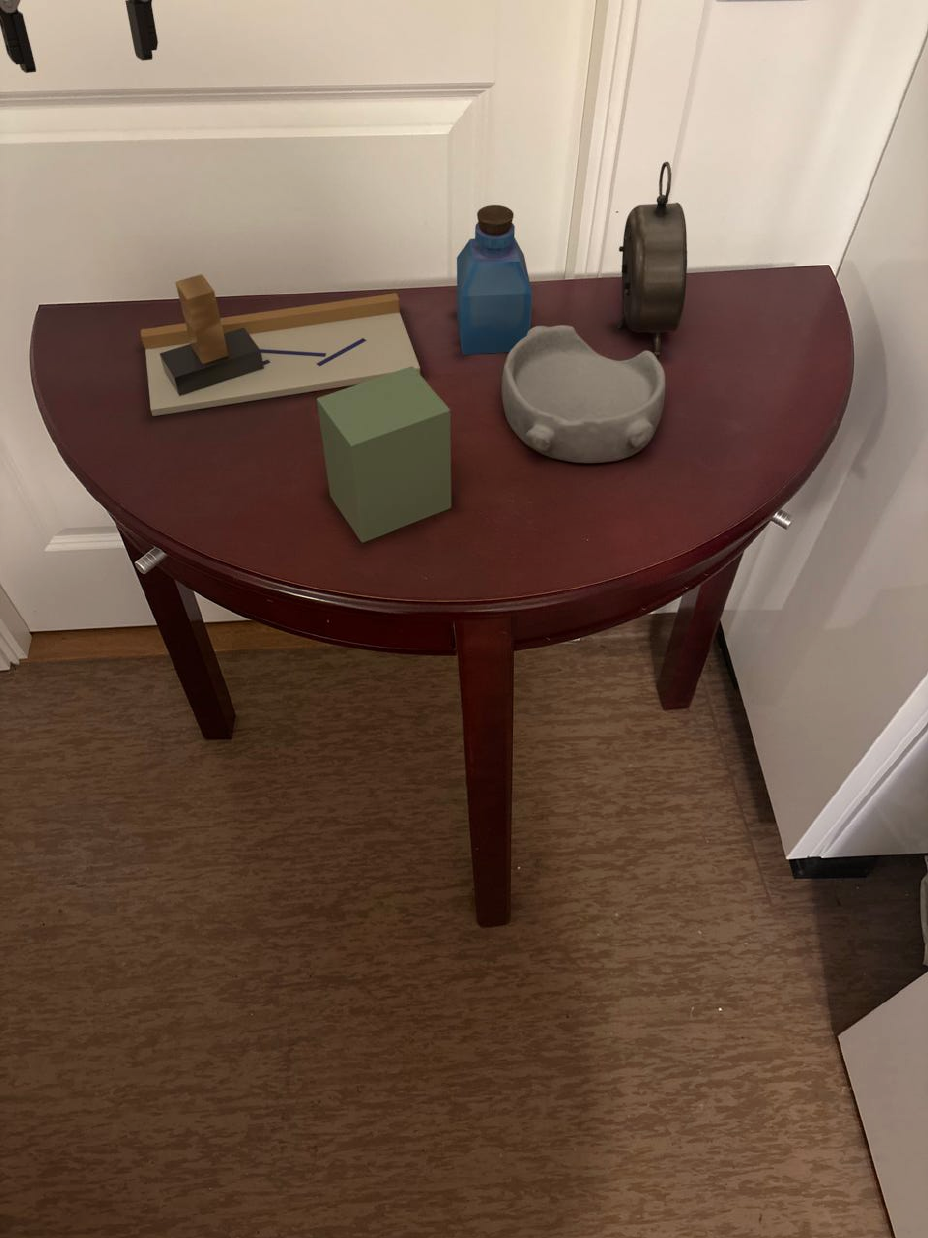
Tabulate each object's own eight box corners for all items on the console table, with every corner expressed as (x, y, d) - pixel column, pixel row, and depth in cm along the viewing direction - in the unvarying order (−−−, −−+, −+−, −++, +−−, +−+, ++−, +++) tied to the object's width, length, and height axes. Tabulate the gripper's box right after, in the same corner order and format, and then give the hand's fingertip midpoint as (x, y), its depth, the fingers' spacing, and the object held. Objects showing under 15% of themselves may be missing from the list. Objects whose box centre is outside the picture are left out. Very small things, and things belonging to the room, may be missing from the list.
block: (361, 543, 79) (350, 445, 71) (329, 496, 82) (315, 398, 74) (451, 508, 81) (450, 409, 73) (417, 463, 84) (412, 365, 77)
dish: (512, 360, 93) (514, 313, 89) (663, 377, 92) (672, 330, 88) (486, 465, 84) (488, 418, 80) (653, 486, 83) (663, 439, 79)
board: (152, 416, 88) (146, 396, 86) (146, 349, 94) (140, 329, 92) (420, 374, 92) (419, 354, 90) (397, 312, 98) (396, 292, 96)
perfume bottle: (462, 354, 94) (462, 235, 84) (457, 315, 98) (456, 197, 88) (528, 351, 94) (535, 231, 85) (520, 312, 98) (526, 194, 89)
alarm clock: (675, 365, 93) (708, 197, 80) (616, 365, 93) (640, 196, 80) (663, 297, 100) (692, 132, 87) (608, 296, 100) (629, 131, 87)
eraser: (179, 395, 89) (155, 311, 82) (164, 371, 91) (140, 287, 84) (264, 368, 91) (248, 284, 84) (247, 345, 93) (230, 261, 87)
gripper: (-83, -222, 59) (-1, 85, 69) (155, -221, 65) (198, 62, 75) (-102, -220, 64) (-23, 66, 74) (120, -220, 70) (165, 46, 80)
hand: (88, 64), depth 75 cm, fingers open, 8 cm apart
